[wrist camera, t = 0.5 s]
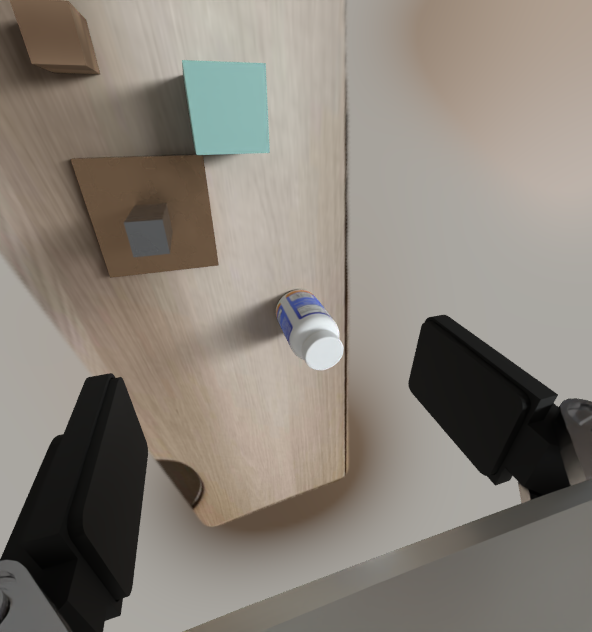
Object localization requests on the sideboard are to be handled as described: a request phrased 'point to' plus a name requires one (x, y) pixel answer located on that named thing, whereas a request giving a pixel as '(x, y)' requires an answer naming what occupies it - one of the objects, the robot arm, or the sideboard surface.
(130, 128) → the sideboard surface
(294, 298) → the pill bottle
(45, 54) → the tan cardboard cube
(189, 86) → the teal rectangular block
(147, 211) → the brown square base
